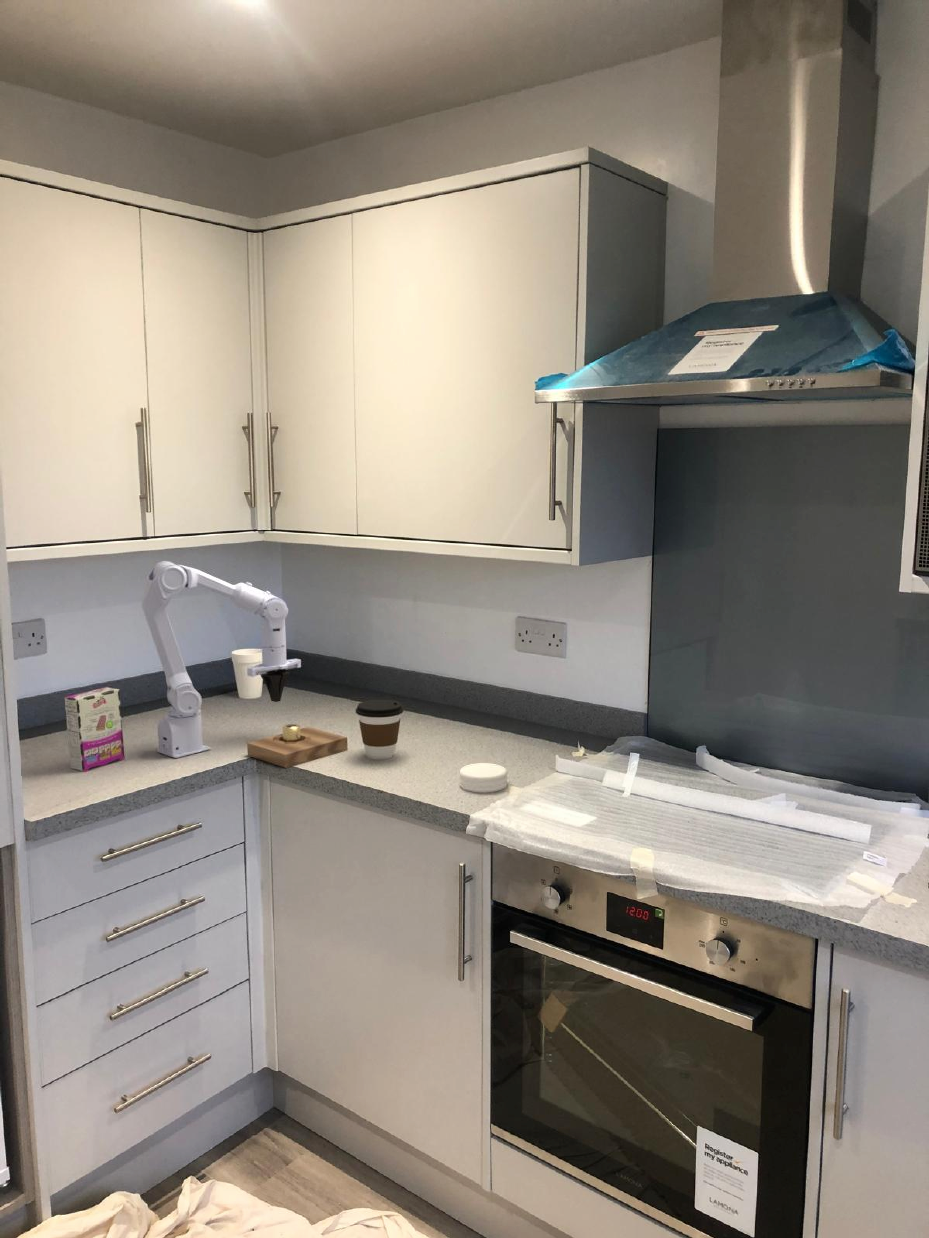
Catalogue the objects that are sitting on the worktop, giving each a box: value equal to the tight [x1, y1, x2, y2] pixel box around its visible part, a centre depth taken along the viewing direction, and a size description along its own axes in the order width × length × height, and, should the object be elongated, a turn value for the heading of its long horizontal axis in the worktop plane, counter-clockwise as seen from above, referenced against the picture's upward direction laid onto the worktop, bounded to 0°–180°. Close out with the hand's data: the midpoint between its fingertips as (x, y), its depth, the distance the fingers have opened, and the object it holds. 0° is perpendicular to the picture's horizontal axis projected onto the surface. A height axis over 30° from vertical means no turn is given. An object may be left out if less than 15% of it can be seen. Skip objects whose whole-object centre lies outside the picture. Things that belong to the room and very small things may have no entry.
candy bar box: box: [63, 686, 125, 773], centre depth 215 cm, size 11×5×16 cm, turn 148°
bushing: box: [282, 723, 301, 742], centre depth 225 cm, size 4×4×6 cm
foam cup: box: [231, 648, 264, 700], centre depth 278 cm, size 10×9×13 cm
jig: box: [246, 726, 348, 769], centre depth 224 cm, size 18×14×3 cm
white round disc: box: [458, 762, 508, 794], centre depth 202 cm, size 10×10×4 cm
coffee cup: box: [355, 699, 405, 760], centre depth 221 cm, size 11×11×12 cm
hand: (275, 700), depth 235 cm, fingers closed
